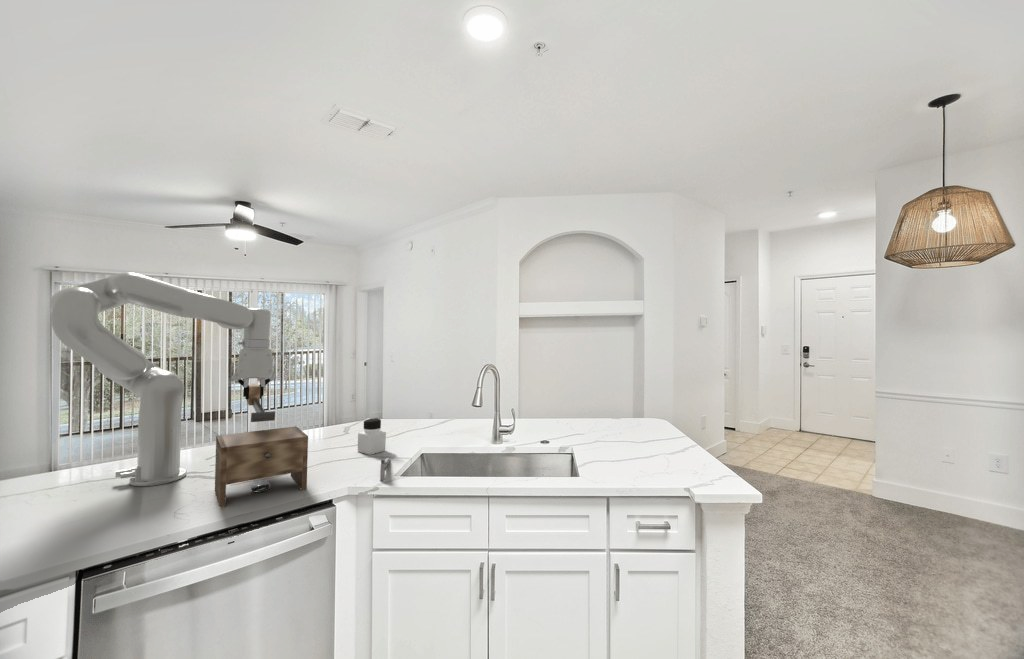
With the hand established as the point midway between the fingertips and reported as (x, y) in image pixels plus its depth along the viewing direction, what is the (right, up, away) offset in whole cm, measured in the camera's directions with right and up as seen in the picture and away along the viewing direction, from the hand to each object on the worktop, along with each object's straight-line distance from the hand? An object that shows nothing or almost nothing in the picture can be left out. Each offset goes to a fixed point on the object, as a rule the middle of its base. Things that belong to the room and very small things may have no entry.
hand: (253, 398), depth 141 cm
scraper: (+6, -3, -8) cm, 10 cm away
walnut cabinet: (+18, -21, -26) cm, 38 cm away
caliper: (+47, -23, -7) cm, 53 cm away
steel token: (+18, -21, -25) cm, 37 cm away
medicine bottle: (+36, -22, +12) cm, 44 cm away
